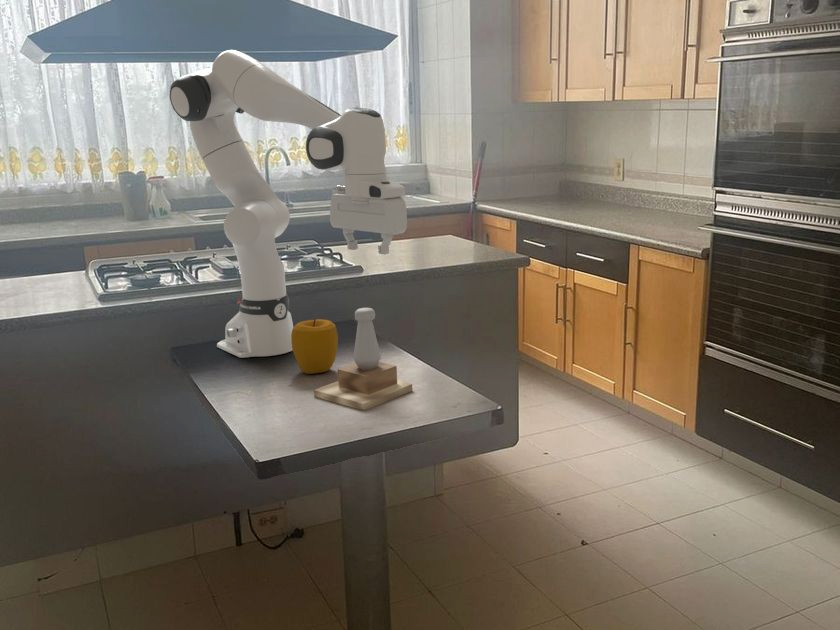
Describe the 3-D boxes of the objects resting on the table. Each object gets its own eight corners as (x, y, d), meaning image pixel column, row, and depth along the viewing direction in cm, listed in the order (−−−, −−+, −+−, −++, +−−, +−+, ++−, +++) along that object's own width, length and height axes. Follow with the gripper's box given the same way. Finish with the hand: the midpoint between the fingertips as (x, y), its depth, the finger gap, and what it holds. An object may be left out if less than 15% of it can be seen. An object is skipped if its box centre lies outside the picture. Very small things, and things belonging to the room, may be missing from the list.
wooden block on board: (314, 396, 174) (312, 372, 173) (363, 378, 185) (361, 355, 184) (363, 410, 165) (362, 385, 163) (412, 390, 176) (411, 366, 174)
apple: (315, 382, 184) (311, 327, 181) (283, 373, 190) (279, 321, 187) (349, 370, 192) (346, 317, 189) (318, 362, 199) (314, 311, 195)
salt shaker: (378, 371, 172) (375, 312, 169) (352, 371, 172) (348, 312, 169) (383, 363, 177) (380, 305, 174) (357, 363, 178) (354, 305, 175)
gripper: (321, 185, 175) (324, 248, 179) (390, 190, 162) (391, 258, 166) (342, 183, 180) (345, 244, 183) (411, 188, 167) (412, 254, 170)
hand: (367, 251), depth 174 cm, fingers open, 8 cm apart
